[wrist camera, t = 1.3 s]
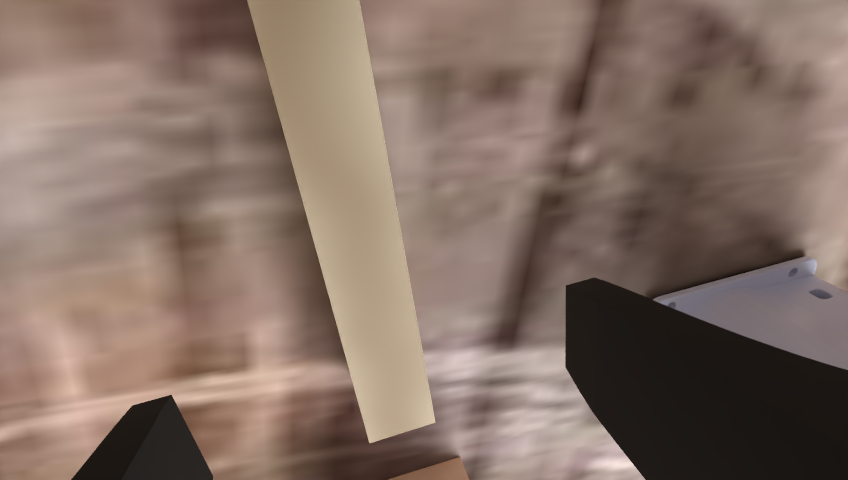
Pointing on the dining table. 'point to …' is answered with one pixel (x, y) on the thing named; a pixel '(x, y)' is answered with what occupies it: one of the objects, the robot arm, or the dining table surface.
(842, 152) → the dining table surface
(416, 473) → the block
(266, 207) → the dining table surface
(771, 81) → the dining table surface
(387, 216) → the beige tapered strip
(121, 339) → the dining table surface
